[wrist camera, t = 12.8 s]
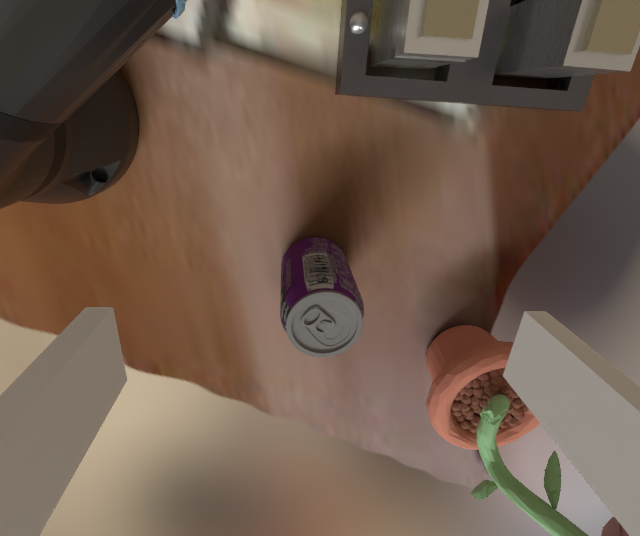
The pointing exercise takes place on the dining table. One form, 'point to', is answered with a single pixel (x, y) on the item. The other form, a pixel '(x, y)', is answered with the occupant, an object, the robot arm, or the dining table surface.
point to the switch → (508, 54)
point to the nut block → (427, 32)
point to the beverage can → (319, 298)
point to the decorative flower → (491, 420)
